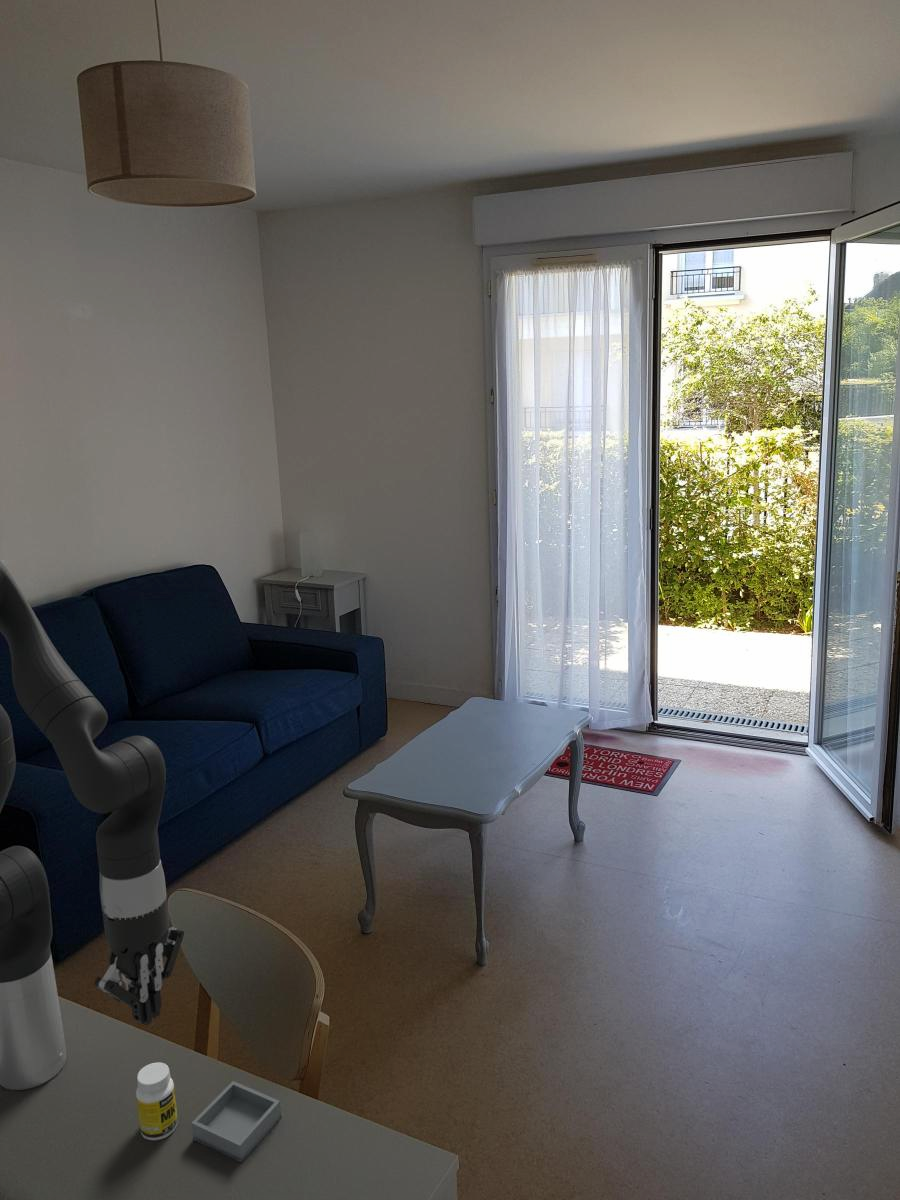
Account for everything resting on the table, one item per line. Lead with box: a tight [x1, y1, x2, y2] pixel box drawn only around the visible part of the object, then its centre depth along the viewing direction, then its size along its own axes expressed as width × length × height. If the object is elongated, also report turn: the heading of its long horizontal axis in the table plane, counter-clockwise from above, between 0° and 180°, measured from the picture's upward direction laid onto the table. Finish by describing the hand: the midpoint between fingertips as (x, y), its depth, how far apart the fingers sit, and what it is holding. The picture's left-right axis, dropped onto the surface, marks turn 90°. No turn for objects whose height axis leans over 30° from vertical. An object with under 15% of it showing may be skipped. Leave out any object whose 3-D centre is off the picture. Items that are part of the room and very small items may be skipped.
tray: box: [190, 1080, 282, 1163], centre depth 121 cm, size 8×8×3 cm
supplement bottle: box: [135, 1062, 179, 1141], centre depth 121 cm, size 5×5×8 cm
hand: (148, 1018), depth 117 cm, fingers closed
